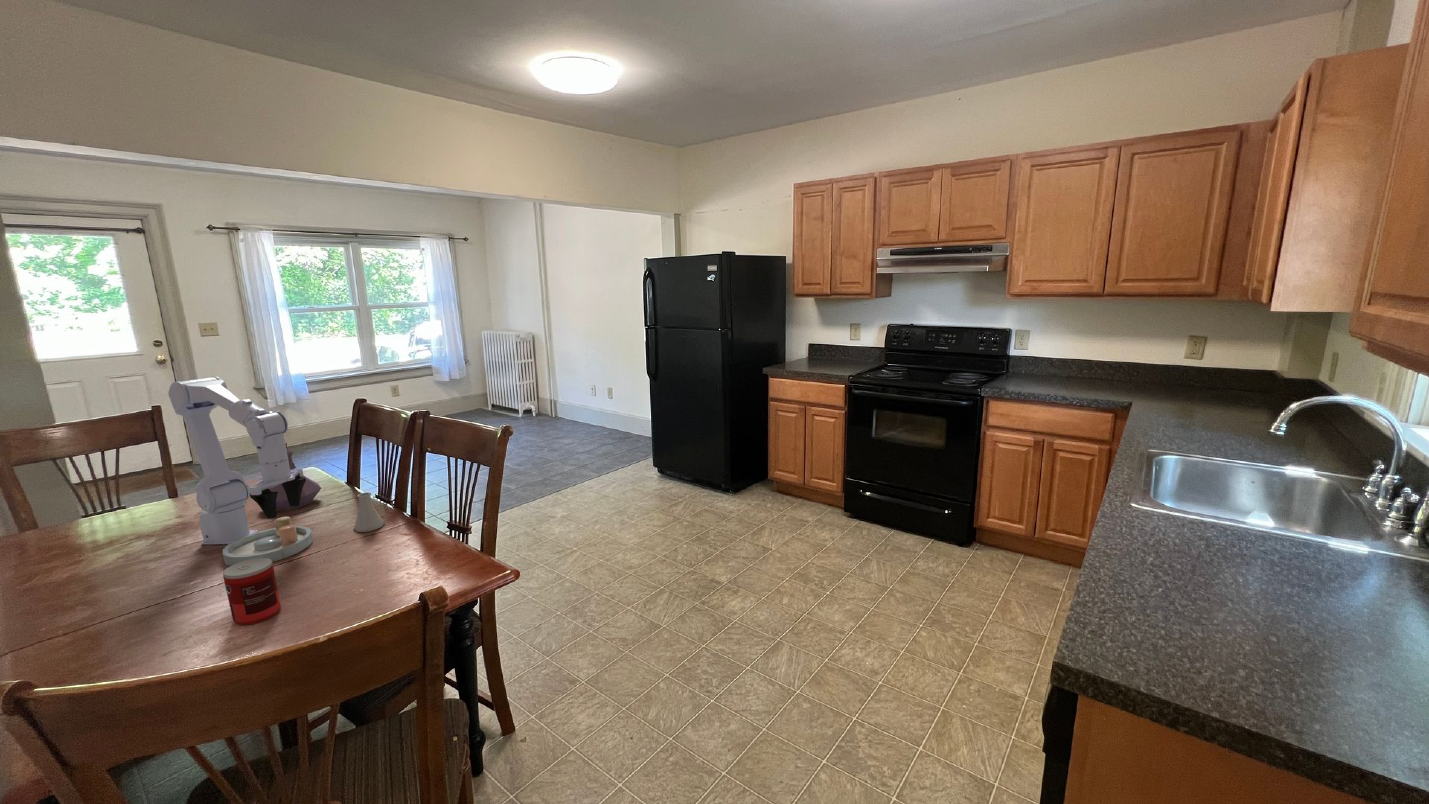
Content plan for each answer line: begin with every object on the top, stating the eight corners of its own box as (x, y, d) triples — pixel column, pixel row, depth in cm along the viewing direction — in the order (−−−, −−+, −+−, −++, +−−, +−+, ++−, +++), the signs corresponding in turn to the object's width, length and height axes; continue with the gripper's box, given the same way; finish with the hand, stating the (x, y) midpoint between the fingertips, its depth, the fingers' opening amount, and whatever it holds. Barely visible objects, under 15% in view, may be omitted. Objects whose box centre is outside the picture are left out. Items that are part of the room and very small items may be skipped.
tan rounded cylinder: (284, 533, 152) (281, 516, 151) (296, 533, 152) (293, 516, 151) (274, 539, 149) (270, 521, 148) (286, 539, 148) (283, 521, 147)
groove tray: (204, 566, 136) (202, 557, 136) (264, 534, 154) (262, 526, 153) (276, 566, 136) (274, 556, 135) (328, 534, 154) (326, 525, 153)
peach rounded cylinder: (279, 548, 143) (275, 530, 142) (289, 542, 146) (285, 525, 145) (291, 548, 143) (288, 530, 142) (301, 542, 146) (298, 524, 145)
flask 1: (336, 499, 180) (325, 439, 176) (279, 518, 165) (266, 453, 161) (305, 492, 186) (294, 435, 182) (248, 510, 172) (235, 448, 168)
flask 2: (370, 533, 153) (365, 499, 151) (348, 532, 154) (342, 498, 152) (390, 523, 160) (385, 490, 158) (368, 521, 161) (363, 489, 159)
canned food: (250, 606, 118) (240, 558, 116) (290, 603, 119) (281, 556, 117) (222, 627, 111) (211, 577, 109) (265, 624, 112) (255, 574, 109)
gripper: (266, 469, 133) (276, 523, 135) (310, 452, 147) (319, 500, 150) (237, 470, 133) (248, 523, 136) (284, 452, 147) (293, 501, 150)
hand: (283, 511), depth 143 cm, fingers open, 7 cm apart
